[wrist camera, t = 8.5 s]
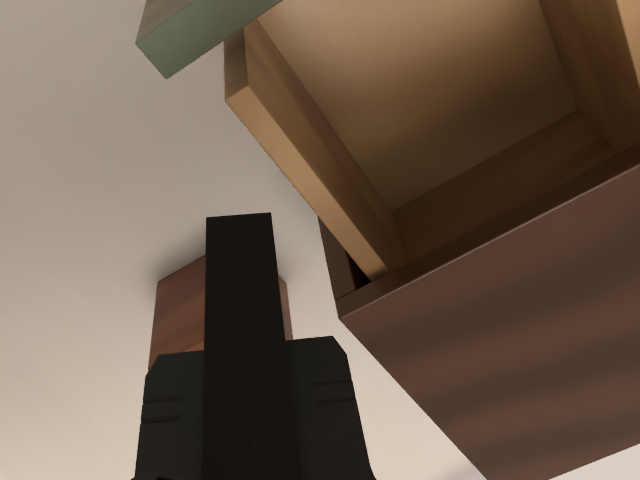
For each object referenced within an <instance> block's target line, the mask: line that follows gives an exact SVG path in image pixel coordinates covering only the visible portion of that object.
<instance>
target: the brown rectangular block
mask: <svg viewBox="0 0 640 480" xmlns="http://www.w3.org/2000/svg"><path fill="white" fill-rule="evenodd" d="M205 263H206V255H205V256H203V257H202V258H200V259H198V260H196V261H195V262H193V263H191V264H189V265H188V266H186V267H184V268H183V269H181V270H179V271H177V272H176V273H174V274H172V275H170V276H169V277H167V278H165V279H164V280H162V281H160V282H158V284H157V292H156V302H155V311H154V320H153V329H152V338H151V347H150V356H149V365H148V370H150V368H151V366H152V365H153V363H154V361H155V359H156V358H157V356H158V355H159V354H169V353H179V352H189V351H199V350H204V315H205ZM278 278H279V287H280V296H281V304H282V313H283V322H284V331H285V339H286V340H293V335H292V327H291V318H290V310H289V302H288V294H287V286H286V284H285V283H284V282H283V281H282V280H281V278H280V277H279V276H278Z"/></svg>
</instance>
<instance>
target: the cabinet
mask: <svg viewBox="0 0 640 480" xmlns="http://www.w3.org/2000/svg"><path fill="white" fill-rule="evenodd" d="M317 217H318V215H317ZM318 222H319V227H320V232H321V236H322V241H323V246H324V251H325V256H326V261H327V266H328V271H329V276H330V280H331V285H332V290H333V295H334V300H335V304H336V308H337V313H338V318H339V320H340V321H341V322H342V323H343V324H344V325H345V326H346V327H347V328H348V329H349V330H350V331H351V333H352V334H353V335H354V336H355V337H356V338H357V339H358V340H359V341H360V342H361V343H362V344H363V346H364V347H365V348H366V349H367V350H368V351H369V352H370V353H371V354H372V355H373V356H374V358H375V359H376V360H377V361H378V362H379V363H380V364H381V365H382V366H383V367H384V368H385V369H386V371H387V372H388V373H389V374H390V375H391V376H392V377H393V378H394V379H395V380H396V381H397V382H398V384H399V385H400V386H401V387H402V388H403V389H404V390H405V391H406V392H407V393H408V394H409V395H410V397H411V398H412V399H413V400H414V401H415V402H416V403H417V404H418V405H419V406H420V407H421V409H422V410H423V411H424V412H425V413H426V414H427V415H428V416H429V417H430V418H431V419H432V420H433V422H434V423H435V424H436V425H437V426H438V427H439V428H440V429H441V430H442V431H443V432H444V433H445V435H446V436H447V437H448V438H449V439H450V440H451V441H452V442H453V443H454V444H455V445H456V446H457V448H458V449H459V450H460V451H461V452H462V453H463V454H464V455H465V456H466V457H467V458H468V460H469V461H470V462H471V463H472V464H473V465H474V466H475V467H476V468H477V469H478V470H479V471H480V473H481V474H482V475H483V476H484V477H485V478H486V479H487V480H549V479H551V478H554V477H557V476H559V475H562V474H564V473H567V472H569V471H572V470H574V469H577V468H579V467H582V466H584V465H587V464H589V463H592V462H595V461H597V460H600V459H602V458H605V457H606V456H610V455H612V454H615V453H617V452H620V451H622V450H625V449H627V448H629V447H632V446H635V445H637V444H640V142H639V143H637V144H635V145H633V146H631V147H629V148H628V149H626V150H624V151H622V152H620V153H618V154H616V155H614V156H612V157H610V158H608V159H606V160H605V161H603V162H601V163H599V164H597V165H595V166H593V167H591V168H589V169H587V170H585V171H583V172H582V173H580V174H578V175H576V176H574V177H572V178H570V179H568V180H566V181H564V182H562V183H560V184H559V185H557V186H555V187H553V188H551V189H549V190H547V191H545V192H543V193H541V194H539V195H537V196H536V197H534V198H532V199H530V200H528V201H526V202H524V203H522V204H520V205H518V206H516V207H514V208H513V209H511V210H509V211H507V212H505V213H503V214H501V215H499V216H497V217H495V218H493V219H491V220H490V221H488V222H486V223H484V224H482V225H480V226H478V227H476V228H474V229H472V230H470V231H468V232H467V233H465V234H463V235H461V236H459V237H457V238H455V239H453V240H451V241H449V242H447V243H445V244H444V245H442V246H440V247H438V248H436V249H434V250H432V251H430V252H428V253H426V254H424V255H422V256H421V257H419V258H417V259H415V260H413V261H411V262H409V263H407V264H405V265H403V266H401V267H399V268H397V269H396V270H394V271H392V272H390V273H388V274H386V275H384V276H382V277H380V278H378V279H376V280H374V281H373V282H371V281H370V280H369V278H368V277H367V276H366V275H365V273H364V272H363V271H362V270H361V269H360V267H359V266H358V265H357V264H356V262H355V261H354V260H353V259H352V257H351V256H350V255H349V254H348V252H347V251H346V250H345V249H344V248H343V246H342V245H341V244H340V243H339V241H338V240H337V239H336V238H335V236H334V235H333V234H332V233H331V231H330V230H329V229H328V228H327V227H326V225H325V224H324V223H323V222H322V220H321V219H320V218H319V217H318Z"/></svg>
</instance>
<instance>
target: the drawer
mask: <svg viewBox="0 0 640 480" xmlns="http://www.w3.org/2000/svg"><path fill="white" fill-rule="evenodd" d="M222 41H224V82H225V102H226V103H227V104H228V106H229V107H230V108H231V109H232V110H233V112H234V113H235V114H236V115H237V117H238V118H239V119H240V120H241V122H242V123H243V124H244V125H245V127H246V128H247V129H248V130H249V131H250V133H251V134H252V135H253V136H254V138H255V139H256V140H257V141H258V143H259V144H260V145H261V146H262V147H263V149H264V150H265V151H266V152H267V154H268V155H269V156H270V157H271V159H272V160H273V161H274V162H275V164H276V165H277V166H278V167H279V168H280V170H281V171H282V172H283V173H284V175H285V176H286V177H287V178H288V180H289V181H290V182H291V183H292V185H293V186H294V187H295V188H296V189H297V191H298V192H299V193H300V194H301V196H302V197H303V198H304V199H305V201H306V202H307V203H308V204H309V206H310V207H311V208H312V209H313V210H314V212H315V213H316V214H317V215H318V217H319V218H320V219H321V220H322V222H323V223H324V224H325V225H326V227H327V228H328V229H329V230H330V231H331V233H332V234H333V235H334V236H335V238H336V239H337V240H338V241H339V243H340V244H341V245H342V246H343V248H344V249H345V250H346V251H347V252H348V254H349V255H350V256H351V257H352V259H353V260H354V261H355V262H356V264H357V265H358V266H359V267H360V269H361V270H362V271H363V272H364V273H365V275H366V276H367V277H368V278H369V280H370V281H371V282H373V281H374V280H376V279H378V278H380V277H382V276H384V275H386V274H388V273H390V272H392V271H394V270H396V269H397V268H399V267H401V266H403V265H405V264H407V263H409V262H411V261H413V260H415V259H417V258H419V257H421V256H422V255H424V254H426V253H428V252H430V251H432V250H434V249H436V248H438V247H440V246H442V245H444V244H445V243H447V242H449V241H451V240H453V239H455V238H457V237H459V236H461V235H463V234H465V233H467V232H468V231H470V230H472V229H474V228H476V227H478V226H480V225H482V224H484V223H486V222H488V221H490V220H491V219H493V218H495V217H497V216H499V215H501V214H503V213H505V212H507V211H509V210H511V209H513V208H514V207H516V206H518V205H520V204H522V203H524V202H526V201H528V200H530V199H532V198H534V197H536V196H537V195H539V194H541V193H543V192H545V191H547V190H549V189H551V188H553V187H555V186H557V185H559V184H560V183H562V182H564V181H566V180H568V179H570V178H572V177H574V176H576V175H578V174H580V173H582V172H583V171H585V170H587V169H589V168H591V167H593V166H595V165H597V164H599V163H601V162H603V161H605V160H606V159H608V158H610V157H612V156H614V155H616V154H618V153H620V152H622V151H624V150H626V149H628V148H629V147H631V146H633V145H635V144H637V143H639V142H640V0H147V1H146V4H145V8H144V12H143V16H142V19H141V23H140V27H139V31H138V34H137V38H136V42H135V43H136V45H137V46H138V48H139V49H140V50H141V51H142V52H143V53H144V55H145V56H146V57H147V58H148V59H149V60H150V62H151V63H152V64H153V65H154V66H155V67H156V68H157V70H158V71H159V72H160V73H161V74H162V75H163V77H164V78H166V79H168V78H170V77H171V76H173V75H174V74H175V73H177V72H178V71H180V70H181V69H183V68H184V67H186V66H187V65H189V64H190V63H192V62H193V61H195V60H196V59H197V58H199V57H200V56H202V55H203V54H205V53H206V52H208V51H209V50H211V49H212V48H214V47H215V46H217V45H218V44H220V43H221V42H222Z"/></svg>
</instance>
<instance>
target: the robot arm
mask: <svg viewBox="0 0 640 480" xmlns="http://www.w3.org/2000/svg"><path fill="white" fill-rule="evenodd" d="M131 480H376V478H375V477H374V475H373V472H372V469H371V466H370V463H369V458H368V454H367V449H366V444H365V439H364V435H363V430H362V425H361V420H360V416H359V411H358V406H357V401H356V399H355V392H354V387H353V382H352V379H351V373H350V368H349V363H348V358H347V354H346V353H345V352H344V350H343V349H342V348H341V346H340V345H339V344H338V342H337V341H336V340H335V338H334V337H333V336H325V337H315V338H305V339H295V340H286V339H285V331H284V322H283V313H282V304H281V296H280V287H279V278H278V270H277V261H276V252H275V244H274V235H273V226H272V217H271V212H270V213H257V214H244V215H232V216H219V217H206V263H205V315H204V350H199V351H189V352H179V353H169V354H159V355H158V356H157V358H156V359H155V361H154V363H153V365H152V366H151V368H150V370H149V371H148V373H147V375H146V377H145V386H144V395H143V405H142V414H141V424H140V432H139V441H138V450H137V459H136V469H135V477H134V478H132V479H131Z"/></svg>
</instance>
